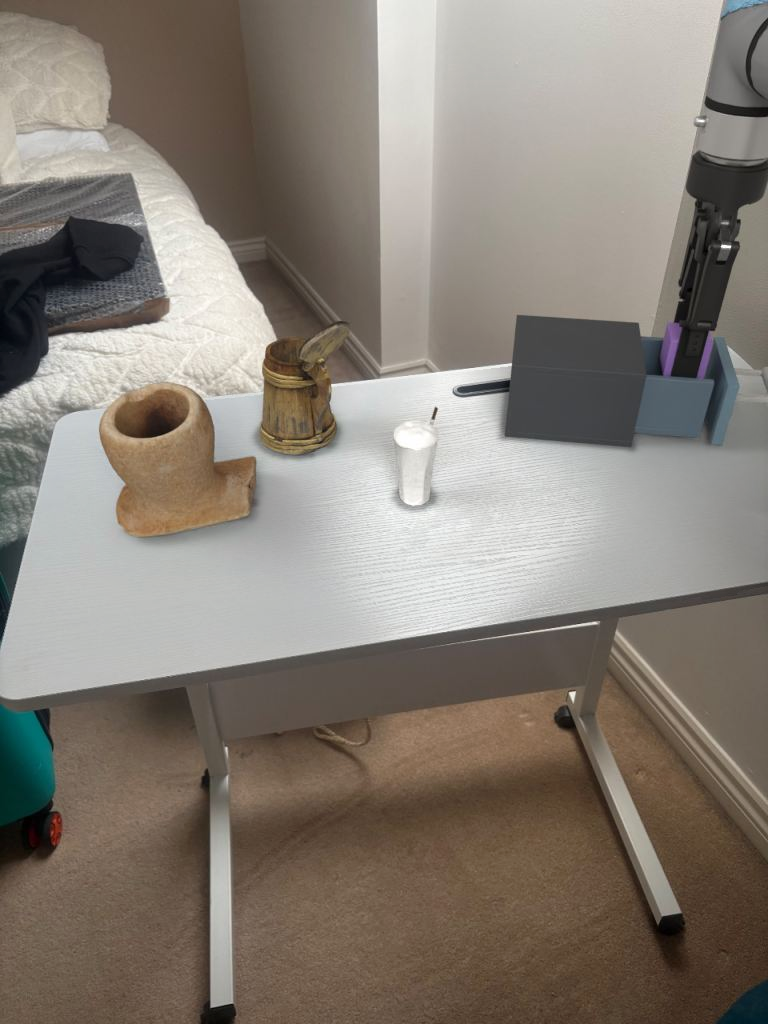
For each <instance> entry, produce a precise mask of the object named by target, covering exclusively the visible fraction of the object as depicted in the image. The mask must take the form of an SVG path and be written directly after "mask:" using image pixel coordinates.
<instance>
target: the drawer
mask: <svg viewBox="0 0 768 1024" xmlns="http://www.w3.org/2000/svg"><path fill="white" fill-rule="evenodd" d="M663 340H664V337H660V336H659V337H657V336H645V335H644V336H643V335H641V341H642V348H643V354H644V361H645V368H646V374H647V376H646V380H645V385H644V390H643V394H642V399H641V403H640V408H639V413H638V417H637V422H636V426H635V431H634V434H635V433H636V434H649V435H661V436H673V437H683V438H694V439H695V438H697V439H699V438H700V436H701V432H702V429H703V426H704V422H705V424H706V428H707V432H708V437H709V441H710V445H713V446H723V443H724V440H725V436H726V433H727V430H728V427H729V424H730V420H731V417H732V413H733V411H734V407H735V404H736V402H746V403H747V402H748V403H762V404H768V395H757V394H745V393H743V394H742V393H739V391H740V387H741V385H740V382H739V379H738V377H737V376H747V377H761V379H762V381H763V385H764V388H765V390H766V393H767V394H768V366H764V367H762V369H753V368H752V369H751V368H740V367H739V368H738V367H734V363H733V360H732V358H731V353H730V351H729V348H728V345H727V341H726V338H725V337H723V336H721V337H720V336H713V338H712V341H713V346H712V350H711V354H710V357H709V361H708V365H707V369H706V372H705V376H704V379H701V378H685V377H671V376H663V372H662V366H661V361H660V353H661V349H662V344H663Z"/></svg>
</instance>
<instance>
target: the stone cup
mask: <svg viewBox="0 0 768 1024" xmlns="http://www.w3.org/2000/svg"><path fill="white" fill-rule="evenodd" d="M98 426H99V427H98V434H99V440H100V444H101V447H102V449H103V451H104V453H105V456H106V457H107V460H108V462H109V464H110V466H111V467H112V469H113V471H114V472H115V474H116V475H117V476H118V477H119V478H120V479H121V481H122V482H123V483H124V486H123V487H122V488H121V490H120V492H119V494H118V498H117V501H116V506H115V515H116V519H117V523H118V525H119V527H122V528H123V530H124V531H125V533H126V534H128V535H130V536H132V537H137V538H144V537H145V538H146V537H160V536H165V535H172V534H177V533H182V532H187V531H191V530H196V529H200V528H205V527H210V526H213V525H218V524H222V523H227V522H232V521H236V520H239V519H243V518H247V517H249V515H250V512H251V510H252V508H253V507H252V505H253V501H254V493H255V489H256V486H257V458H256V457H255V456H253V455H251V456H245V457H239V458H234V459H233V458H232V459H226V460H219V461H215V449H216V447H215V446H216V445H215V444H216V443H215V440H216V439H215V438H216V435H215V425H214V420H213V417H212V414H211V412H210V410H209V408H208V405H207V404H206V402H205V401H204V399H203V397H202V396H201V395H199V394H198V393H197V392H196V391H195V390H194V389H192V388H191V387H188V386H187V385H184V384H180V383H175V382H170V381H160V382H155V383H153V382H152V383H151V384H147V385H144V386H143V387H141V388H138V389H134V390H130V391H127V392H125V393H123V394H121V395H120V396H119V397H117V398H116V399H115V400H114V401H113V402H112V403H110V405H109V406H108V407H107V408H106V409H105V410H104V412H103V413H102V416H101V418H100V421H99V425H98Z"/></svg>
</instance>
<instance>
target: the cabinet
mask: <svg viewBox="0 0 768 1024" xmlns="http://www.w3.org/2000/svg"><path fill="white" fill-rule="evenodd" d="M641 336H642V335H641V329H640V322H634V321H633V322H632V321H619V320H618V321H617V320H604V319H603V320H602V319H589V318H588V319H587V318H571V317H557V316H543V315H541V316H540V315H527V314H526V315H525V314H516V318H515V328H514V339H513V350H512V361H511V368H510V378H509V379H510V380H509V389H508V398H507V399H508V400H507V409H506V420H505V429H504V437H506V438H518V439H531V440H541V441H542V440H543V441H553V442H563V443H564V442H566V443H576V444H589V445H599V446H611V447H612V446H613V447H625V448H631V447H632V444H633V439H634V435H635V432H634V431H635V426H636V422H637V417H638V413H639V408H640V403H641V399H642V394H643V390H644V385H645V380H646V376H647V374H646V368H645V361H644V354H643V348H642V341H641Z"/></svg>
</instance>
